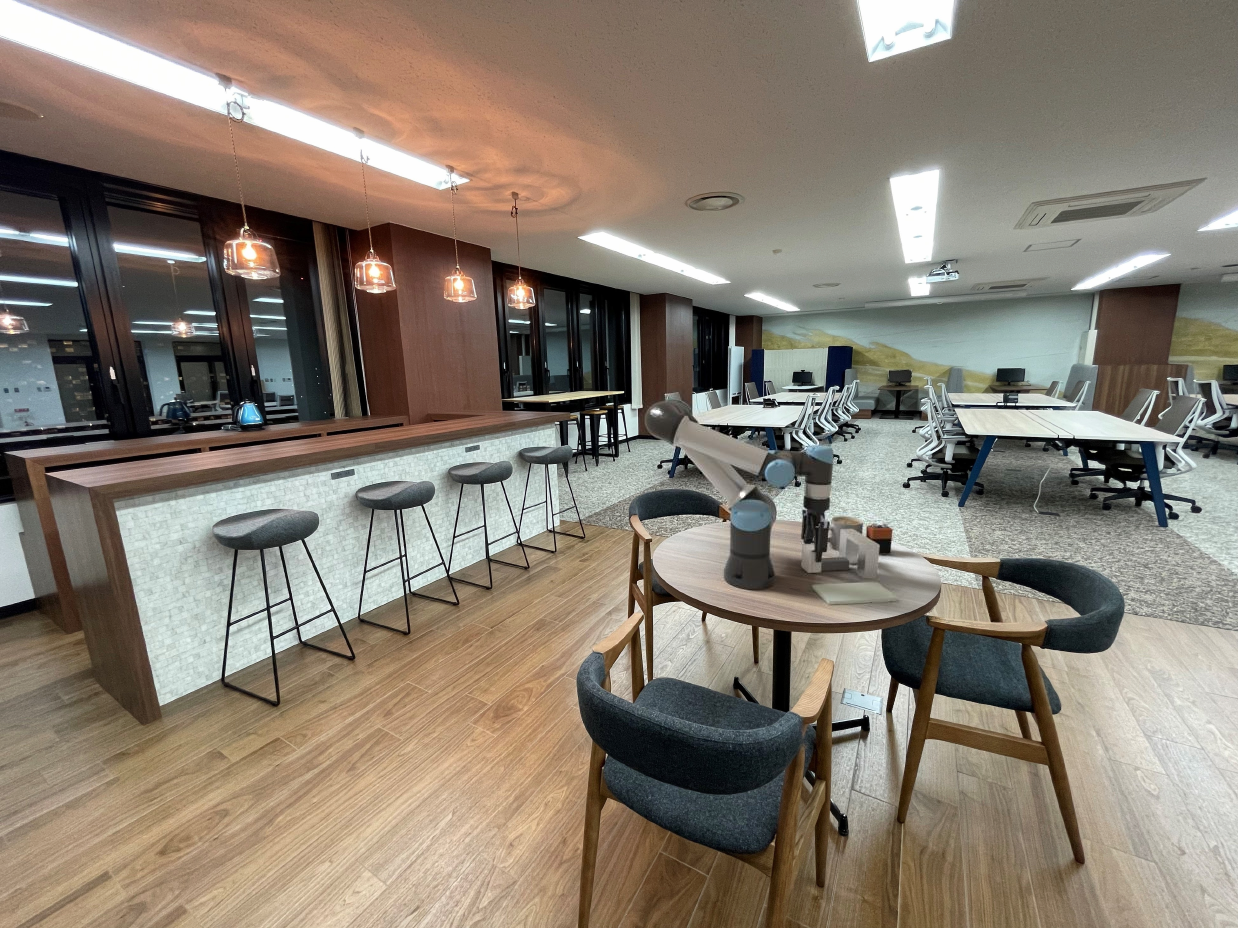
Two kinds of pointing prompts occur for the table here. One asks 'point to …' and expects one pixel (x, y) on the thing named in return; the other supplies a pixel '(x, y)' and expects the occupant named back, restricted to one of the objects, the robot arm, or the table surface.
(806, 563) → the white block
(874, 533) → the battery
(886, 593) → the mat
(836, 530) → the coffee mug
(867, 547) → the grey arch block
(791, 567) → the table surface
